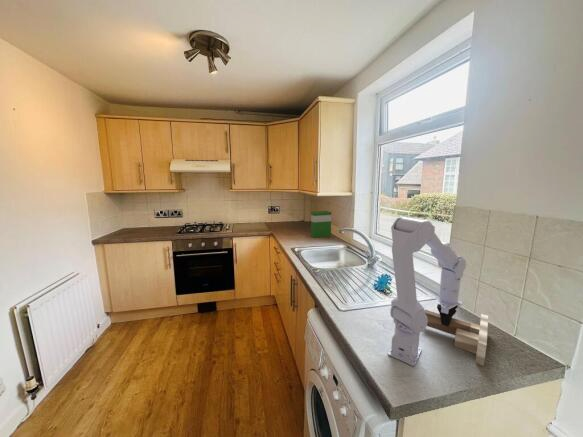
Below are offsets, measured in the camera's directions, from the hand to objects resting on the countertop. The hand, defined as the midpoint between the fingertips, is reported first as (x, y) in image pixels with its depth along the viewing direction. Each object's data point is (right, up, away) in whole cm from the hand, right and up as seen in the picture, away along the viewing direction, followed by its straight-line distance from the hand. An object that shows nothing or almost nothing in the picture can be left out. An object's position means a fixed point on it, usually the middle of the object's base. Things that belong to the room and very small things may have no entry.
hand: (445, 323), depth 88 cm
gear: (-9, +1, +37) cm, 38 cm away
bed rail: (0, -3, +1) cm, 3 cm away
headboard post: (+6, -5, -4) cm, 9 cm away
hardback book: (-27, +20, +149) cm, 153 cm away
